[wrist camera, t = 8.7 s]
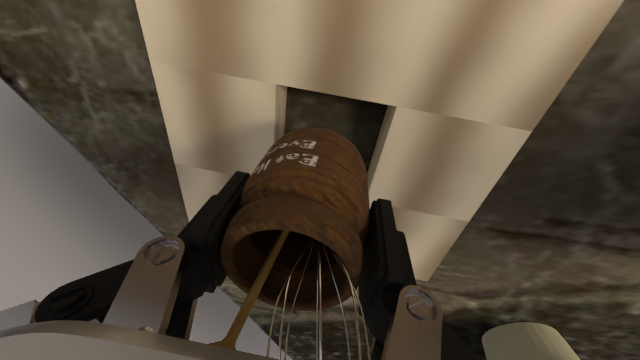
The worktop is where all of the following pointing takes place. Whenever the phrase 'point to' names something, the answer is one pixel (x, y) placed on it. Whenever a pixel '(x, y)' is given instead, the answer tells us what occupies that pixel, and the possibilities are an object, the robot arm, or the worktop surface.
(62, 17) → the worktop surface
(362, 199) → the utensil holder
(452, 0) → the socket board
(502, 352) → the reusable coffee cup
